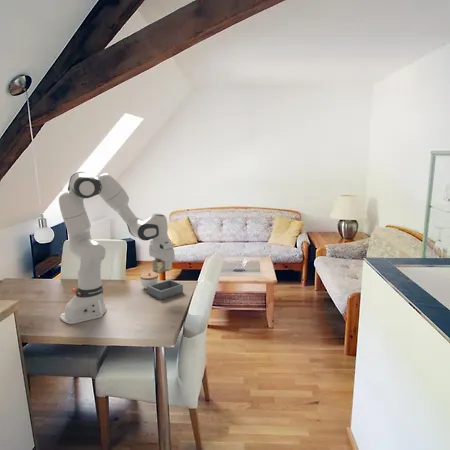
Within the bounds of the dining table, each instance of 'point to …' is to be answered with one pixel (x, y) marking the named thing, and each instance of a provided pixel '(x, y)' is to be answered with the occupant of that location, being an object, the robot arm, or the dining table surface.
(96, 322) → the dining table surface
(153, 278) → the lidded jar
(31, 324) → the dining table surface
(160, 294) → the grey crate
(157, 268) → the pine crate
